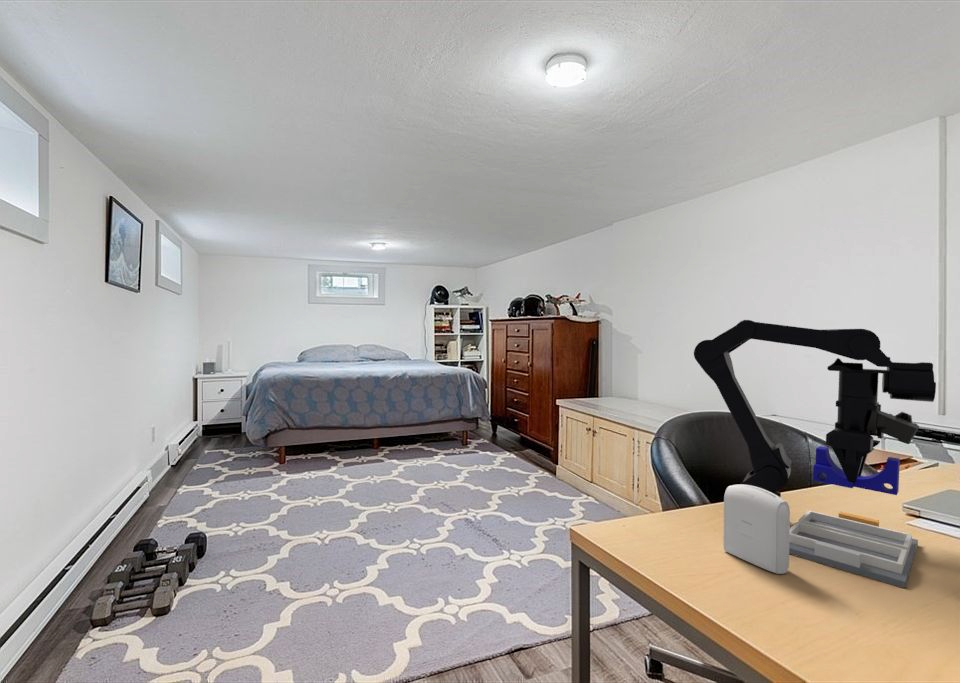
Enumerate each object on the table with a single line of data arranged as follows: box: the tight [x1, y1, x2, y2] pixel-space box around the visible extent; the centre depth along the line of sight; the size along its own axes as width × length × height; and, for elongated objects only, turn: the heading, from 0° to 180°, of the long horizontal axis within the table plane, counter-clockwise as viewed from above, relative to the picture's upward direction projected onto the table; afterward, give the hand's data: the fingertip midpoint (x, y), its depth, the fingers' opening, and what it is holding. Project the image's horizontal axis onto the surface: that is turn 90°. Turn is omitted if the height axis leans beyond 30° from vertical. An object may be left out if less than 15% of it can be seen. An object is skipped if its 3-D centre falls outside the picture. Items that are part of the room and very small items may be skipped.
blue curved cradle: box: [812, 445, 901, 496], centre depth 89 cm, size 12×4×6 cm, turn 44°
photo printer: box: [723, 483, 791, 575], centre depth 80 cm, size 10×4×12 cm, turn 26°
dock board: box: [789, 509, 919, 589], centre depth 86 cm, size 22×17×3 cm
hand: (854, 479), depth 89 cm, fingers closed on blue curved cradle, 4 cm apart
